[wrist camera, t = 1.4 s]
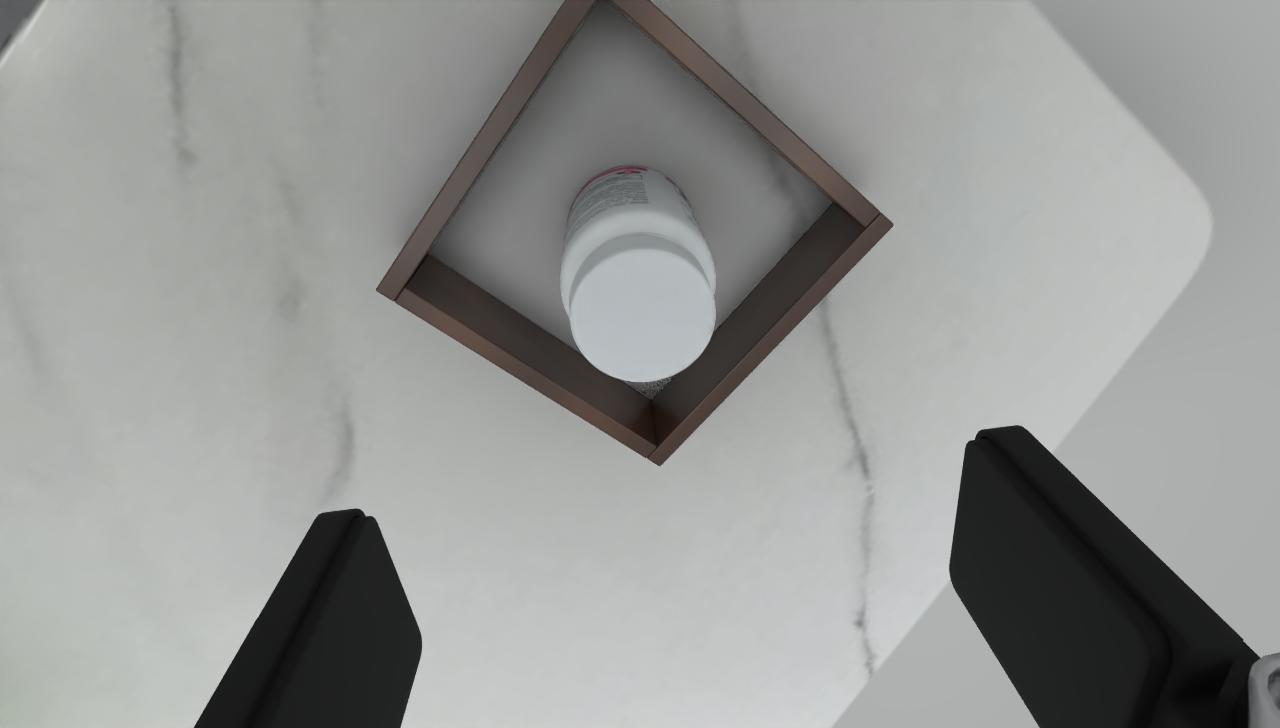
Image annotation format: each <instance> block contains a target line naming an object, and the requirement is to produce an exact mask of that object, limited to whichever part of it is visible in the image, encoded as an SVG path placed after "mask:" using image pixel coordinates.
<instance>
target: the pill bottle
mask: <svg viewBox="0 0 1280 728" xmlns="http://www.w3.org/2000/svg"><path fill="white" fill-rule="evenodd" d="M715 289H716V272H715V266H714V261H713V258H712V254H711V252H710V249H709V247H708V244H707V242H706V240H705V238H704V235H703V233H702V231H701V229H700V227H699V224H698V222H697V220H696V218H695V216H694V213H693V211H692V209H691V207H690V205H689V202H688V201H687V199H686V197H685V195H684V194H683V193H682V191H681V190H680V189H679V188H678V187H677V186H676V185H675V184H674V183H673V182H672V181H671V180H670V179H668V178H667V177H666V176H664V175H662V174H661V173H659V172H657V171H654V170H652V169H648V168H645V167H639V166H624V167H617V168H613V169H610V170H607V171H605V172H603V173H601V174H599V175H597V176H596V177H594V178H593V179H592V180H590V181H589V182H588V183H587V184H586V185H585V186H584V187H583V188H582V190H581V191H580V192H579V194H578V195H577V197H576V198H575V200H574V202H573V204H572V206H571V209H570V212H569V216H568V220H567V226H566V234H565V242H564V249H563V255H562V263H561V269H560V292H561V297H562V301H563V305H564V308H565V310H566V313H567V315H568V317H569V319H570V327H571V331H572V334H573V337H574V340H575V342H576V344H577V346H578V348H579V350H580V351H581V352H582V354H583V355H584V356H585V358H586V359H587V360H588V361H589V362H590V363H591V364H592V365H594V366H595V367H596V368H597V369H599V370H600V371H602V372H604V373H606V374H607V375H609V376H612V377H614V378H617V379H621V380H625V381H631V382H650V381H657V380H661V379H664V378H667V377H670V376H673V375H675V374H677V373H679V372H681V371H682V370H684V369H685V368H687V367H688V366H689V365H691V364H692V363H693V362H694V361H695V360H696V359H697V358H698V357H699V356H700V355H701V353H702V352H703V351H704V349H705V348H706V346H707V344H708V343H709V341H710V338H711V336H712V333H713V330H714V326H715V319H716V307H715V300H714V295H715Z"/></svg>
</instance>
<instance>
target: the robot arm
mask: <svg viewBox="0 0 1280 728" xmlns="http://www.w3.org/2000/svg"><path fill="white" fill-rule="evenodd" d="M949 572H950V578H951V582H952V584H953V587H954V589H955V591H956V593H957V594H958V596H959V597H960V599H961V601H962V602H963V604H964V606H965V607H966V609H967V610H968V612H969V614H970V615H971V617H972V618H973V620H974V622H975V623H976V625H977V627H978V628H979V630H980V632H981V633H982V635H983V636H984V638H985V639H986V641H987V643H988V644H989V646H990V648H991V649H992V651H993V653H994V654H995V656H996V657H997V659H998V661H999V662H1000V664H1001V666H1002V667H1003V669H1004V671H1005V672H1006V674H1007V675H1008V677H1009V679H1010V680H1011V682H1012V683H1013V685H1014V687H1015V688H1016V690H1017V692H1018V693H1019V695H1020V696H1021V698H1022V700H1023V701H1024V703H1025V705H1026V706H1027V708H1028V709H1029V711H1030V713H1031V714H1032V716H1033V718H1034V719H1035V721H1036V722H1037V724H1038V726H1039V727H1040V728H1280V653H1276V654H1271V655H1266V656H1263V657H1262V658H1260V657H1259V656H1258V655H1257V654H1256V653H1255V652H1254V651H1253V650H1252V649H1250V647H1249V646H1248V645H1246V643H1244V642H1243V639H1242V638H1241V637H1240V636H1239V635H1238V634H1237V633H1236V632H1235V631H1234V630H1233V629H1232V628H1231V627H1230V626H1229V625H1228V624H1227V623H1226V622H1225V621H1223V619H1222V618H1221V617H1220V616H1218V614H1217V613H1215V612H1214V611H1213V610H1212V609H1211V608H1210V607H1209V606H1208V605H1207V604H1206V603H1205V602H1204V601H1203V600H1202V599H1201V598H1200V597H1199V596H1198V595H1197V594H1196V593H1195V592H1194V591H1193V590H1192V589H1191V588H1190V587H1189V586H1188V585H1187V584H1185V583H1184V582H1183V581H1182V580H1181V579H1180V578H1179V577H1178V576H1177V575H1176V574H1175V573H1174V572H1173V571H1172V570H1171V569H1170V568H1169V567H1168V566H1167V565H1166V564H1165V563H1164V562H1163V561H1162V560H1161V559H1160V558H1159V557H1158V556H1156V555H1155V554H1154V552H1152V551H1151V550H1150V549H1149V548H1148V547H1147V546H1146V545H1145V544H1144V543H1143V542H1142V541H1141V540H1140V539H1139V538H1138V537H1137V536H1136V535H1135V534H1134V533H1133V532H1131V530H1130V529H1128V527H1127V526H1126V525H1125V524H1124V523H1123V522H1121V521H1120V520H1119V519H1118V518H1117V517H1116V516H1115V515H1114V514H1113V513H1112V512H1111V511H1110V510H1109V509H1108V508H1107V507H1106V506H1105V505H1104V504H1103V503H1102V502H1101V501H1100V500H1099V499H1098V498H1097V497H1096V496H1095V495H1094V494H1092V493H1091V491H1089V490H1088V489H1087V488H1086V487H1085V486H1084V485H1083V484H1082V483H1081V482H1080V481H1079V480H1078V479H1077V478H1076V477H1075V476H1074V475H1073V474H1072V473H1071V472H1070V471H1069V470H1068V469H1067V468H1066V467H1065V466H1064V465H1063V464H1061V463H1060V461H1058V460H1057V459H1056V458H1055V457H1054V456H1053V455H1052V454H1051V453H1050V452H1049V451H1048V450H1047V449H1046V448H1045V447H1044V446H1043V445H1042V444H1041V443H1040V442H1039V441H1038V440H1037V439H1036V438H1035V437H1034V436H1033V435H1032V434H1031V433H1030V432H1029V431H1028V430H1026V429H1025V428H1024V427H1022V426H1018V425H1015V426H1007V427H999V428H992V429H984V430H981V431H979V432H978V433H977V435H976V438H975V440H971V441H969V442H968V443H967V444H966V448H965V454H964V461H963V469H962V476H961V483H960V491H959V498H958V506H957V513H956V520H955V528H954V535H953V542H952V550H951V557H950V564H949ZM421 652H422V638H421V633H420V630H419V627H418V625H417V622H416V620H415V617H414V615H413V612H412V609H411V607H410V604H409V602H408V599H407V597H406V594H405V592H404V589H403V587H402V584H401V582H400V579H399V576H398V574H397V571H396V569H395V566H394V564H393V561H392V559H391V556H390V554H389V551H388V549H387V546H386V543H385V541H384V538H383V536H382V533H381V531H380V528H379V526H378V523H377V521H376V519H375V518H374V517H372V516H367V517H366V516H365V514H364V512H362V511H361V510H360V509H348V510H340V511H332V512H325V513H321V514H319V515H318V516H317V517H316V519H315V520H314V522H313V524H312V525H311V527H310V529H309V530H308V532H307V534H306V536H305V537H304V539H303V541H302V543H301V544H300V546H299V548H298V549H297V551H296V553H295V555H294V556H293V558H292V560H291V562H290V563H289V565H288V567H287V569H286V570H285V572H284V574H283V575H282V577H281V579H280V581H279V582H278V584H277V586H276V588H275V589H274V591H273V593H272V594H271V596H270V598H269V600H268V601H267V603H266V605H265V607H264V608H263V610H262V612H261V614H260V615H259V617H258V618H257V619H256V621H255V623H254V625H253V626H252V628H251V630H250V632H249V633H248V635H247V637H246V638H245V640H244V642H243V644H242V645H241V647H240V649H239V651H238V652H237V654H236V656H235V657H234V659H233V661H232V663H231V664H230V666H229V668H228V670H227V671H226V673H225V675H224V676H223V678H222V680H221V682H220V683H219V685H218V687H217V689H216V690H215V692H214V694H213V695H212V697H211V699H210V701H209V702H208V704H207V706H206V708H205V709H204V711H203V713H202V714H201V716H200V718H199V720H198V721H197V723H196V725H195V727H194V728H400V727H401V723H402V720H403V716H404V713H405V710H406V706H407V703H408V699H409V696H410V692H411V689H412V685H413V682H414V678H415V675H416V671H417V668H418V664H419V661H420V657H421Z"/></svg>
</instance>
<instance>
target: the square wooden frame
mask: <svg viewBox="0 0 1280 728" xmlns="http://www.w3.org/2000/svg"><path fill="white" fill-rule="evenodd" d="M607 1H608V2H609V3H611V4H612V5H613V6H614V7H615V8H616V9H617V10H618V11H620V12H621V13H622V14H623V15H624V16H625V17H626V18H627V19H629V20H630V21H631V22H632V23H633V24H634V25H635V26H636V27H637V28H639V29H640V30H641V31H642V32H643V33H644V34H645V35H646V36H648V37H649V38H650V39H651V40H652V41H653V42H654V43H655V44H657V45H658V46H659V47H660V48H661V49H662V50H663V51H664V52H666V53H667V54H668V55H669V56H670V57H671V58H672V59H673V60H674V61H676V62H677V63H678V64H679V65H680V66H681V67H682V68H683V69H685V70H686V71H687V72H688V73H689V74H690V75H691V76H692V77H694V78H695V79H696V80H697V81H698V82H699V83H700V84H701V85H703V86H704V87H705V88H706V89H707V90H708V91H709V92H710V93H711V94H713V95H714V96H715V97H716V98H717V99H718V100H719V101H720V102H722V103H723V104H724V105H725V106H726V107H727V108H728V109H729V110H731V111H732V112H733V113H734V114H735V115H736V116H737V117H738V118H740V119H741V120H742V121H743V122H744V123H745V124H746V125H747V126H748V127H750V128H751V129H752V130H753V131H754V132H755V133H756V134H757V135H759V136H760V137H761V138H762V139H763V140H764V141H765V142H766V143H768V144H769V145H770V146H771V147H772V148H773V149H774V150H775V151H777V152H778V153H779V154H780V155H781V156H782V157H783V158H784V159H785V160H787V161H788V162H789V163H790V164H791V165H792V166H793V167H794V168H796V169H797V170H798V171H799V172H800V173H801V174H802V175H803V176H805V177H806V178H807V179H808V180H809V181H810V182H811V183H812V184H814V185H815V186H816V187H817V188H818V189H819V190H820V191H821V192H822V193H824V194H825V195H826V196H827V197H828V198H829V199H830V200H831V201H833V202H834V203H833V204H832V205H831V206H830V207H829V208H828V210H827V211H826V212H825V213H824V214H823V215H822V216H821V217H820V218H819V219H818V221H817V222H816V223H815V224H814V225H813V226H812V227H811V228H810V229H809V230H808V231H807V233H806V234H805V235H804V236H803V237H802V238H801V239H800V240H799V241H798V242H797V243H796V245H795V246H794V247H793V248H792V249H791V250H790V251H789V252H788V253H787V254H786V255H785V257H784V258H783V259H782V260H781V261H780V262H779V263H778V264H777V265H776V266H775V267H774V269H773V270H772V271H771V272H770V273H769V274H768V275H767V276H766V277H765V278H764V279H763V281H762V282H761V283H760V284H759V285H758V286H757V287H756V288H755V289H754V290H753V291H752V293H751V294H750V295H749V296H748V297H747V298H746V299H745V300H744V301H743V302H742V303H741V305H740V306H739V307H738V308H737V309H736V310H735V311H734V312H733V313H732V314H731V315H730V317H729V318H728V319H727V320H726V321H725V322H724V323H723V324H722V325H721V326H720V328H719V329H718V330H717V331H716V332H715V333H714V334H713V335H712V336H711V338H710V341H709V343H708V344H707V346H706V348H705V349H704V351H703V352H702V353H701V355H700V356H699V357H698V358H697V359H696V360H695V361H694V362H693V363H692V364H691V365H689V366H688V367H687V368H685V369H684V370H682V371H681V372H679V373H677V374H676V376H675V377H674V378H673V379H672V380H671V381H670V382H669V383H668V384H667V385H666V386H665V388H664V389H663V390H662V391H661V392H660V393H659V394H658V395H657V396H656V397H655V398H654V400H653V401H652V402H651V401H650V400H649V399H647V398H646V397H644V396H643V395H641V394H640V393H638V392H637V391H635V390H634V389H632V388H631V387H629V386H628V385H626V384H625V383H623V382H622V381H620V380H618V379H617V378H614V377H612V376H609V375H607V374H606V373H604V372H602V371H600V370H599V369H597V368H596V367H595V366H594V365H592V364H591V363H590V362H589V361H588V360H587V359H586V358H585V357H584V356H582V355H581V354H579V353H578V352H576V351H574V350H573V349H571V348H570V347H568V346H567V345H565V344H564V343H562V342H561V341H559V340H558V339H556V338H555V337H553V336H552V335H550V334H549V333H547V332H546V331H544V330H543V329H541V328H540V327H538V326H537V325H535V324H534V323H532V322H531V321H529V320H527V319H526V318H524V317H523V316H521V315H520V314H518V313H517V312H515V311H514V310H512V309H511V308H509V307H508V306H506V305H505V304H503V303H502V302H500V301H499V300H497V299H496V298H494V297H493V296H491V295H490V294H488V293H487V292H485V291H484V290H482V289H480V288H479V287H477V286H476V285H474V284H473V283H471V282H470V281H468V280H467V279H465V278H464V277H462V276H461V275H459V274H458V273H456V272H455V271H453V270H452V269H450V268H449V267H447V266H446V265H444V264H443V263H441V262H440V261H438V260H437V259H435V258H433V257H432V256H430V255H429V254H428V253H429V251H430V250H431V248H432V247H433V245H434V244H435V242H436V241H437V239H438V238H439V237H440V235H441V234H442V232H443V231H444V229H445V228H446V226H447V225H448V223H449V222H450V220H451V219H452V217H453V216H454V214H455V213H456V211H457V210H458V208H459V207H460V205H461V204H462V202H463V201H464V199H465V198H466V196H467V195H468V193H469V192H470V190H471V189H472V187H473V186H474V184H475V183H476V182H477V180H478V179H479V177H480V176H481V174H482V173H483V171H484V170H485V168H486V167H487V165H488V164H489V162H490V161H491V159H492V158H493V156H494V155H495V153H496V152H497V150H498V149H499V147H500V146H501V144H502V143H503V141H504V140H505V138H506V137H507V135H508V134H509V132H510V131H511V129H512V128H513V127H514V125H515V124H516V122H517V121H518V119H519V118H520V116H521V115H522V113H523V112H524V110H525V109H526V107H527V106H528V104H529V103H530V101H531V100H532V98H533V97H534V95H535V94H536V92H537V91H538V89H539V88H540V86H541V85H542V83H543V82H544V80H545V79H546V77H547V76H548V74H549V73H550V71H551V70H552V69H553V67H554V66H555V64H556V63H557V61H558V60H559V58H560V57H561V55H562V54H563V52H564V51H565V49H566V48H567V46H568V45H569V43H570V42H571V40H572V39H573V37H574V36H575V34H576V33H577V31H578V30H579V28H580V27H581V25H582V24H583V22H584V21H585V19H586V18H587V16H588V15H589V14H590V12H591V11H592V9H593V8H594V6H595V5H596V3H597V2H598V0H565V1H564V2H563V4H562V5H561V7H560V8H559V10H558V11H557V13H556V14H555V16H554V17H553V19H552V21H551V22H550V24H549V25H548V27H547V28H546V30H545V31H544V33H543V34H542V36H541V37H540V39H539V40H538V42H537V44H536V45H535V47H534V48H533V50H532V51H531V53H530V54H529V56H528V57H527V59H526V60H525V62H524V63H523V65H522V66H521V68H520V70H519V71H518V73H517V74H516V76H515V77H514V79H513V80H512V82H511V83H510V85H509V86H508V88H507V89H506V91H505V93H504V94H503V96H502V97H501V99H500V100H499V102H498V103H497V105H496V106H495V108H494V109H493V111H492V112H491V114H490V115H489V117H488V119H487V120H486V122H485V123H484V125H483V126H482V128H481V129H480V131H479V132H478V134H477V135H476V137H475V138H474V140H473V142H472V143H471V145H470V146H469V148H468V149H467V151H466V152H465V154H464V155H463V157H462V158H461V160H460V161H459V163H458V164H457V166H456V168H455V169H454V171H453V172H452V174H451V175H450V177H449V178H448V180H447V181H446V183H445V184H444V186H443V187H442V189H441V191H440V192H439V194H438V195H437V197H436V198H435V200H434V201H433V203H432V204H431V206H430V207H429V209H428V210H427V212H426V213H425V215H424V217H423V218H422V220H421V221H420V223H419V224H418V226H417V227H416V229H415V230H414V232H413V233H412V235H411V236H410V238H409V239H408V241H407V243H406V244H405V246H404V247H403V249H402V250H401V252H400V253H399V255H398V256H397V258H396V259H395V261H394V262H393V264H392V266H391V267H390V269H389V270H388V272H387V273H386V275H385V276H384V278H383V279H382V281H381V282H380V284H379V285H378V287H377V288H376V291H378V292H379V293H381V294H382V295H384V296H386V297H387V298H389V299H390V300H392V301H395V303H397V304H398V305H400V306H402V307H403V308H405V309H407V310H408V311H410V312H411V313H413V314H415V315H416V316H418V317H419V318H421V319H423V320H424V321H426V322H427V323H429V324H431V325H432V326H434V327H436V328H437V329H439V330H440V331H442V332H444V333H445V334H447V335H448V336H450V337H452V338H453V339H455V340H456V341H458V342H460V343H461V344H463V345H465V346H466V347H468V348H469V349H471V350H473V351H474V352H476V353H477V354H479V355H481V356H482V357H484V358H485V359H487V360H489V361H490V362H492V363H494V364H495V365H497V366H498V367H500V368H502V369H503V370H505V371H506V372H508V373H510V374H511V375H513V376H514V377H516V378H518V379H519V380H521V381H523V382H524V383H526V384H527V385H529V386H531V387H532V388H534V389H535V390H537V391H539V392H540V393H542V394H543V395H545V396H547V397H548V398H550V399H552V400H553V401H555V402H556V403H558V404H560V405H561V406H563V407H564V408H566V409H568V410H569V411H571V412H572V413H574V414H576V415H577V416H579V417H581V418H582V419H584V420H585V421H587V422H589V423H590V424H592V425H593V426H595V427H597V428H598V429H600V430H601V431H603V432H605V433H606V434H608V435H610V436H611V437H613V438H614V439H616V440H618V441H619V442H621V443H622V444H624V445H626V446H627V447H629V448H630V449H632V450H634V451H635V452H637V453H638V454H640V455H642V456H643V457H645V458H648V459H649V460H650V461H652V462H653V463H655V464H657V465H658V466H661V465H662V464H663V463H664V462H665V461H666V460H667V459H668V458H669V457H670V456H671V455H672V454H673V453H674V452H675V451H676V450H677V448H678V447H679V446H680V445H681V444H682V443H683V442H684V441H685V440H686V439H687V438H688V437H689V436H690V435H691V434H692V433H693V432H694V431H695V430H696V429H697V428H698V427H699V426H700V425H701V424H702V423H703V422H704V421H705V420H706V419H707V418H708V417H709V415H710V414H711V413H712V412H713V411H714V410H715V409H716V408H717V407H718V406H719V405H720V404H721V403H722V402H723V401H724V400H725V399H726V398H727V397H728V396H729V395H730V394H731V393H732V392H733V391H734V390H735V389H736V388H737V387H738V386H739V385H740V383H741V382H742V381H743V380H744V379H745V378H746V377H747V376H748V375H749V374H750V373H751V372H752V371H753V370H754V369H755V368H756V367H757V366H758V365H759V364H760V363H761V362H762V361H763V360H764V359H765V358H766V357H767V356H768V355H769V354H770V353H771V352H772V350H773V349H774V348H775V347H776V346H777V345H778V344H779V343H780V342H781V341H782V340H783V339H784V338H785V337H786V336H787V335H788V334H789V333H790V332H791V331H792V330H793V329H794V328H795V327H796V326H797V325H798V324H799V323H800V322H801V321H802V320H803V319H804V317H805V316H806V315H807V314H808V313H809V312H810V311H811V310H812V309H813V308H814V307H815V306H816V305H817V304H818V303H819V302H820V301H821V300H822V299H823V298H824V297H825V296H826V295H827V294H828V293H829V292H830V291H831V290H832V289H833V288H834V287H835V286H836V284H837V283H838V282H839V281H840V280H841V279H842V278H843V277H844V276H845V275H846V274H847V273H848V272H849V271H850V270H851V269H852V268H853V267H854V266H855V265H856V264H857V263H858V262H859V261H860V260H861V259H862V258H863V257H864V256H865V255H866V254H867V252H868V251H869V250H870V249H871V248H872V247H873V246H874V245H875V244H876V243H877V242H878V241H879V240H880V239H881V238H882V237H883V236H884V235H885V234H886V233H887V232H888V231H889V230H890V229H891V228H892V227H893V223H892V222H891V221H890V220H889V219H888V218H887V217H886V216H885V215H883V214H882V213H881V212H880V211H879V210H878V209H877V208H876V207H875V206H874V205H873V204H871V203H870V202H869V201H868V200H867V199H866V198H865V197H864V196H863V195H862V194H861V193H859V192H858V191H857V190H856V189H855V188H854V187H853V186H852V185H851V184H850V183H849V182H847V181H846V180H845V179H844V178H843V177H842V176H841V175H840V174H839V173H838V172H837V171H835V170H834V169H833V168H832V167H831V166H830V165H829V164H828V163H827V162H826V161H825V160H823V159H822V158H821V157H820V156H819V155H818V154H817V153H816V152H815V151H814V150H813V149H811V148H810V147H809V146H808V145H807V144H806V143H805V142H804V141H803V140H802V139H801V138H799V137H798V136H797V135H796V134H795V133H794V132H793V131H792V130H791V129H790V128H789V127H787V126H786V125H785V124H784V123H783V122H782V121H781V120H780V119H779V118H778V117H777V116H775V115H774V114H773V113H772V112H771V111H770V110H769V109H768V108H767V107H766V106H765V105H763V104H762V103H761V102H760V101H759V100H758V99H757V98H756V97H755V96H754V95H753V94H751V93H750V92H749V91H748V90H747V89H746V88H745V87H744V86H743V85H742V84H741V83H739V82H738V81H737V80H736V79H735V78H734V77H733V76H732V75H731V74H730V73H729V72H727V71H726V70H725V69H724V68H723V67H722V66H721V65H720V64H719V63H718V62H717V61H715V60H714V59H713V58H712V57H711V56H710V55H709V54H708V53H707V52H706V51H705V50H703V49H702V48H701V47H700V46H699V45H698V44H697V43H696V42H695V41H694V40H693V39H691V38H690V37H689V36H688V35H687V34H686V33H685V32H684V31H683V30H682V29H681V28H679V27H678V26H677V25H676V24H675V23H674V22H673V21H672V20H671V19H670V18H668V17H667V16H666V15H665V14H664V13H663V12H662V11H661V10H660V9H659V8H658V7H656V6H655V5H654V4H653V3H652V2H651V1H650V0H607ZM427 254H428V255H427Z"/></svg>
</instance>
